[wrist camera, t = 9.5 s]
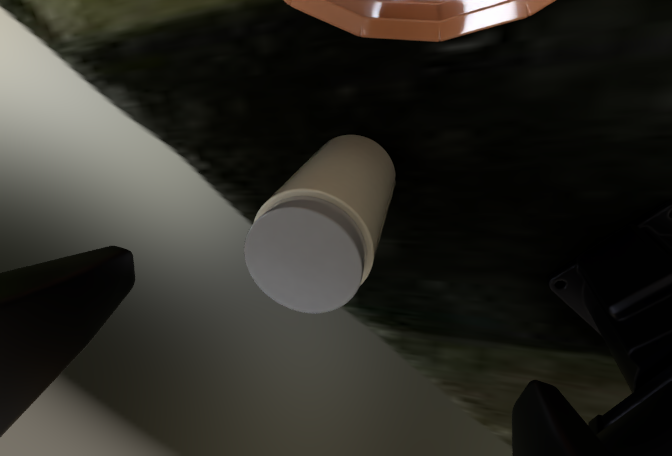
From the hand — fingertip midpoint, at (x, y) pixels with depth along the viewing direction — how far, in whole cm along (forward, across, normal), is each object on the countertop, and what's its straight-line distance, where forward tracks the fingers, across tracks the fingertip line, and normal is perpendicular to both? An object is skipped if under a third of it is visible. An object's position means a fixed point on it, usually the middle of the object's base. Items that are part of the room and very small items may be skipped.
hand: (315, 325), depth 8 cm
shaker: (+12, +1, +1) cm, 12 cm away
